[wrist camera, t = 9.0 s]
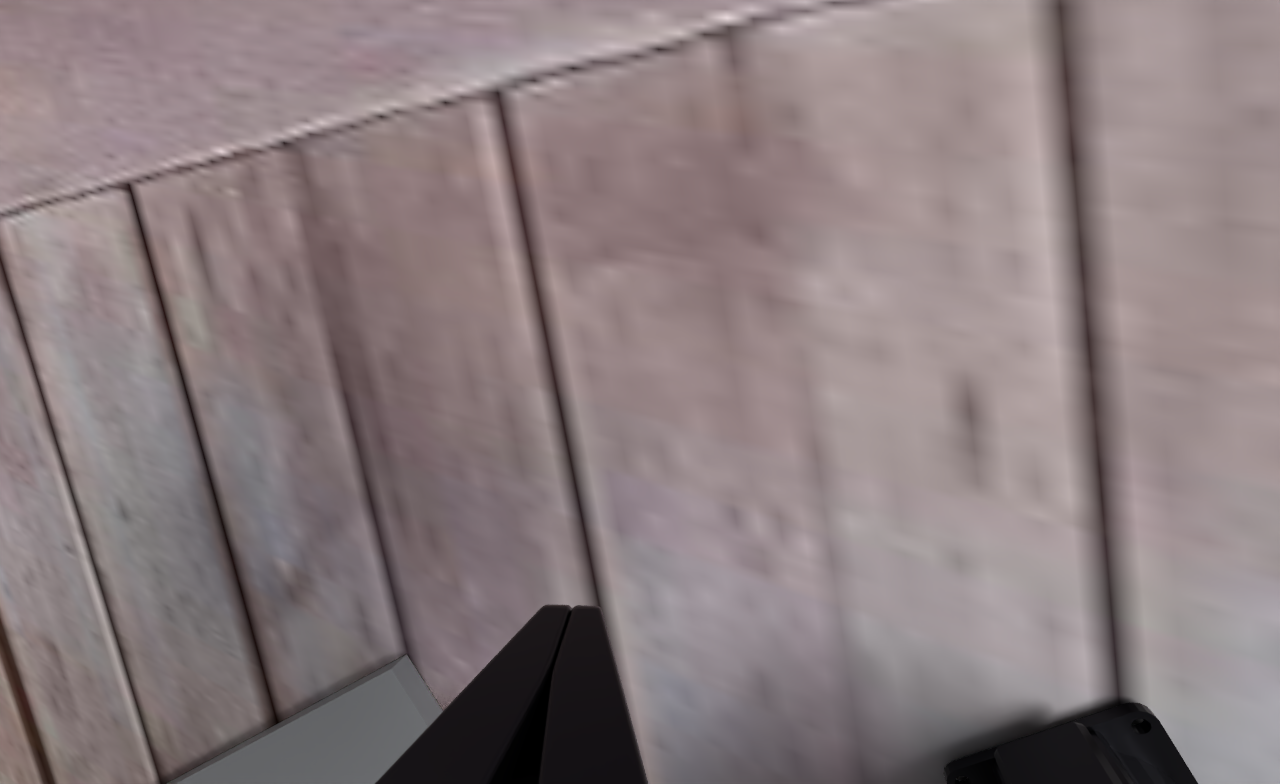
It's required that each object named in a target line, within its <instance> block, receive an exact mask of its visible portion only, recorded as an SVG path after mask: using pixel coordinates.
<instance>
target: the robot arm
mask: <svg viewBox="0 0 1280 784" xmlns="http://www.w3.org/2000/svg"><path fill="white" fill-rule="evenodd" d="M1136 719H1144V720H1143V722H1142V723H1140V724H1138V725H1132V722H1133V721H1135V720H1136ZM944 776H945V779H946V783H947V784H1198V783H1197V781H1196V779H1195V778H1194V776H1193V775H1192V773H1191V771H1190V770H1189V768H1188V767H1187V765H1186V763H1185V762H1184V760H1183V758H1182V757H1181V755H1180V754H1179V752H1178V750H1177V749H1176V747H1175V746H1174V744H1173V742H1172V741H1171V739H1170V737H1169V736H1168V734H1167V733H1166V731H1165V729H1164V728H1163V726H1162V725H1161V723H1160V721H1159V720H1158V719H1157V718H1156V716H1155V715H1154V714H1153V713H1152V711H1151V710H1150V709H1149V708H1148V707H1146V706H1144V705H1142V704H1140V703H1134V702H1133V703H1126V704H1123V705H1120V706H1117V707H1114V708H1111V709H1108V710H1105V711H1102V712H1099V713H1096V714H1093V715H1090V716H1087V717H1084V718H1081V719H1078V720H1075V721H1072V722H1069V723H1066V724H1063V725H1060V726H1057V727H1054V728H1051V729H1048V730H1045V731H1042V732H1039V733H1036V734H1033V735H1030V736H1027V737H1024V738H1021V739H1018V740H1015V741H1012V742H1009V743H1006V744H1003V745H999V746H996V747H993V748H990V749H987V750H984V751H981V752H978V753H975V754H972V755H969V756H966V757H963V758H960V759H957V760H954V761H952V762H950V763H948V764H947V765H946V767H945V768H944ZM959 776H964V777H967V779H965V780H962V781H959V780H957V779H956V778H958V777H959ZM375 784H648V781H647V777H646V774H645V770H644V766H643V762H642V759H641V755H640V751H639V747H638V744H637V740H636V736H635V732H634V729H633V725H632V721H631V718H630V714H629V710H628V706H627V703H626V699H625V695H624V691H623V688H622V684H621V680H620V676H619V673H618V669H617V665H616V662H615V658H614V654H613V650H612V647H611V643H610V639H609V635H608V632H607V628H606V624H605V620H604V617H603V613H602V610H601V608H600V607H599V606H581V605H577V606H575V607H574V608H573V609H572V608H571V607H570V606H569V605H545V606H543V607H542V608H541V609H540V610H539V611H538V612H537V613H536V614H535V615H534V616H533V617H532V618H531V619H530V620H529V621H528V622H527V623H526V624H525V625H524V626H523V628H522V629H521V630H520V631H519V632H518V633H517V634H516V635H515V636H514V637H513V638H512V639H511V640H510V641H509V642H508V643H507V644H506V645H505V647H504V648H503V649H502V650H501V651H500V652H499V653H498V654H497V655H496V656H495V657H494V658H493V659H492V660H491V661H490V662H489V663H488V664H487V666H486V667H485V668H484V669H483V670H482V671H481V672H480V673H479V674H478V675H477V676H476V677H475V678H474V679H473V680H472V681H471V682H470V683H469V685H468V686H467V687H466V688H465V689H464V690H463V691H462V692H461V693H460V694H459V695H458V696H457V697H456V698H455V699H454V700H453V701H452V702H451V704H450V705H449V706H448V707H447V708H446V709H445V710H444V711H443V712H442V713H441V714H440V715H439V716H438V717H437V718H436V719H435V720H434V721H433V723H432V724H431V725H430V726H429V727H428V728H427V729H426V730H425V731H424V732H423V733H422V734H421V735H420V736H419V737H418V738H417V739H416V740H415V742H414V743H413V744H412V745H411V746H410V747H409V748H408V749H407V750H406V751H405V752H404V753H403V754H402V755H401V756H400V757H399V758H398V759H397V761H396V762H395V763H394V764H393V765H392V766H391V767H390V768H389V769H388V770H387V771H386V772H385V773H384V774H383V775H382V776H381V777H380V778H379V780H378V781H377V782H376V783H375Z"/></svg>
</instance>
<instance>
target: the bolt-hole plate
mask: <svg viewBox="0 0 1280 784" xmlns="http://www.w3.org/2000/svg"><path fill="white" fill-rule="evenodd" d="M442 712H443V710H442V709H441V707H440V706H439V704H438V703H437V701H436V699H435V698H434V696H433V695H432V693H431V692H430V690H429V689H428V687H427V685H426V684H425V682H424V681H423V679H422V678H421V676H420V674H419V673H418V671H417V670H416V668H415V667H414V665H413V663H412V662H411V660H410V659H409V657H408V656H407V654H406V655H404V656H403V657H401V658H399V659H397V660H395V661H393V662H391V663H390V664H388V665H386V666H384V667H382V668H380V669H378V670H376V671H375V672H373V673H371V674H369V675H367V676H365V677H363V678H362V679H360V680H358V681H356V682H354V683H352V684H350V685H349V686H347V687H345V688H343V689H341V690H339V691H337V692H336V693H334V694H332V695H330V696H328V697H326V698H324V699H323V700H321V701H319V702H317V703H315V704H313V705H311V706H310V707H308V708H306V709H304V710H302V711H300V712H298V713H297V714H295V715H293V716H291V717H289V718H287V719H285V720H283V721H282V722H280V723H278V724H276V725H274V726H272V727H270V728H269V729H267V730H265V731H263V732H261V733H259V734H257V735H256V736H254V737H252V738H250V739H248V740H246V741H244V742H243V743H241V744H239V745H237V746H235V747H233V748H231V749H230V750H228V751H226V752H224V753H222V754H220V755H218V756H217V757H215V758H213V759H211V760H209V761H207V762H205V763H204V764H202V765H200V766H198V767H196V768H194V769H192V770H190V771H189V772H187V773H185V774H183V775H181V776H179V777H177V778H176V779H174V780H172V781H170V782H168V783H166V784H375V783H376V782H377V781H378V780H379V778H380V777H381V776H382V775H383V774H384V773H385V772H386V771H387V770H388V769H389V768H390V767H391V766H392V765H393V764H394V763H395V762H396V761H397V759H398V758H399V757H400V756H401V755H402V754H403V753H404V752H405V751H406V750H407V749H408V748H409V747H410V746H411V745H412V744H413V743H414V742H415V740H416V739H417V738H418V737H419V736H420V735H421V734H422V733H423V732H424V731H425V730H426V729H427V728H428V727H429V726H430V725H431V724H432V723H433V721H434V720H435V719H436V718H437V717H438V716H439V715H440V714H441V713H442Z"/></svg>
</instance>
